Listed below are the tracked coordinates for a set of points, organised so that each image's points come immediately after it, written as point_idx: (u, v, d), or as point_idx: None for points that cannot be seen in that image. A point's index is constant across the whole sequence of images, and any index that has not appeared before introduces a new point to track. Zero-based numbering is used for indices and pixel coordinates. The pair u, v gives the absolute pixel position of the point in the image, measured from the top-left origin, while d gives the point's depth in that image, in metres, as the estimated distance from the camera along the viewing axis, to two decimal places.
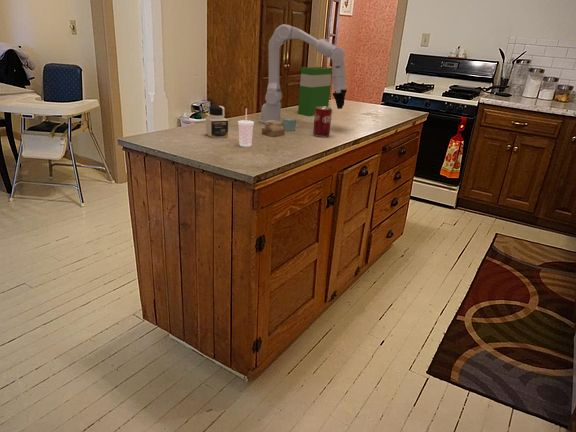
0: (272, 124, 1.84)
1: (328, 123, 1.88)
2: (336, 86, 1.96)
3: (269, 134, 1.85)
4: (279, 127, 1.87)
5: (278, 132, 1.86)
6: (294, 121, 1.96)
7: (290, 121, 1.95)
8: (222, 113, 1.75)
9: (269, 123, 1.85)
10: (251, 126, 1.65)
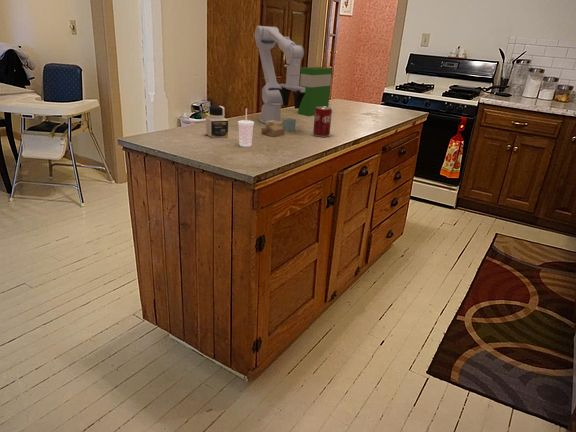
0: (273, 124, 1.84)
1: (328, 123, 1.88)
2: None
3: (269, 134, 1.85)
4: (280, 127, 1.86)
5: (278, 132, 1.86)
6: (294, 121, 1.96)
7: (290, 121, 1.95)
8: (222, 113, 1.75)
9: (270, 123, 1.85)
10: (251, 126, 1.65)
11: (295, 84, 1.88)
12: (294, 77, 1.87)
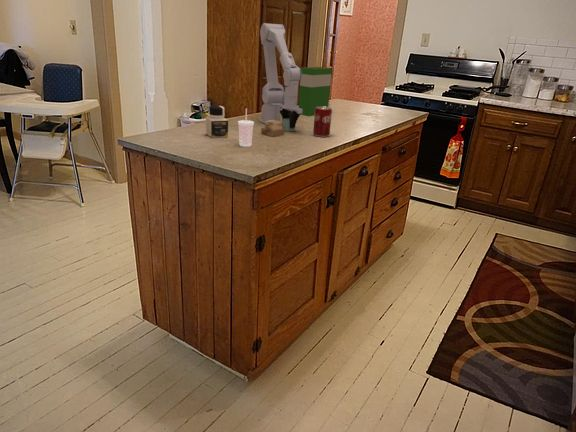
0: (272, 124, 1.84)
1: (328, 123, 1.88)
2: None
3: (268, 134, 1.85)
4: (279, 127, 1.87)
5: (278, 132, 1.86)
6: None
7: None
8: (222, 113, 1.75)
9: (269, 123, 1.85)
10: (251, 126, 1.65)
11: (293, 105, 1.92)
12: (292, 99, 1.90)
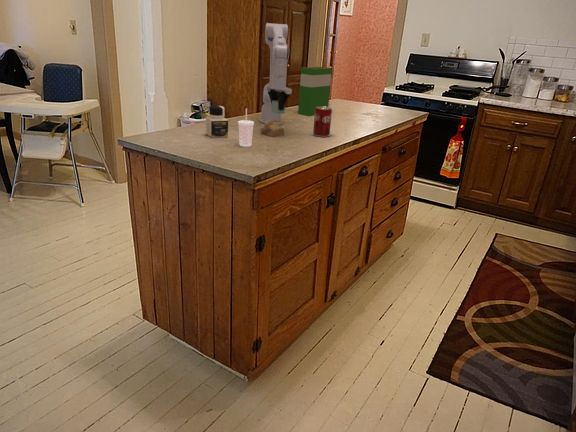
0: (272, 124, 1.84)
1: (328, 123, 1.88)
2: None
3: (268, 134, 1.85)
4: (279, 127, 1.87)
5: (278, 132, 1.86)
6: None
7: None
8: (222, 113, 1.75)
9: (269, 123, 1.85)
10: (251, 126, 1.65)
11: (281, 85, 1.80)
12: (280, 78, 1.79)
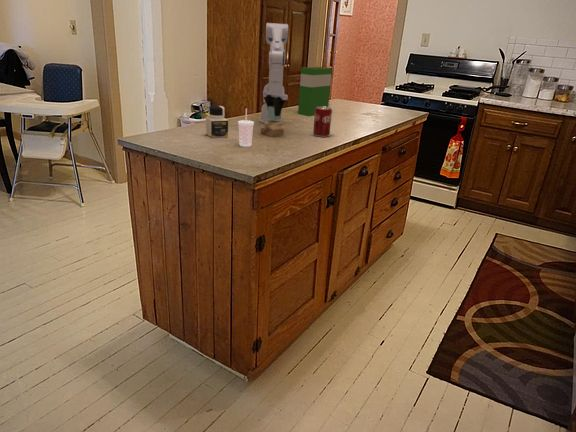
0: (272, 124, 1.84)
1: (328, 123, 1.88)
2: None
3: (268, 134, 1.85)
4: (279, 127, 1.87)
5: (277, 132, 1.86)
6: None
7: None
8: (222, 113, 1.75)
9: (269, 123, 1.85)
10: (251, 126, 1.65)
11: (277, 91, 1.79)
12: (276, 84, 1.78)
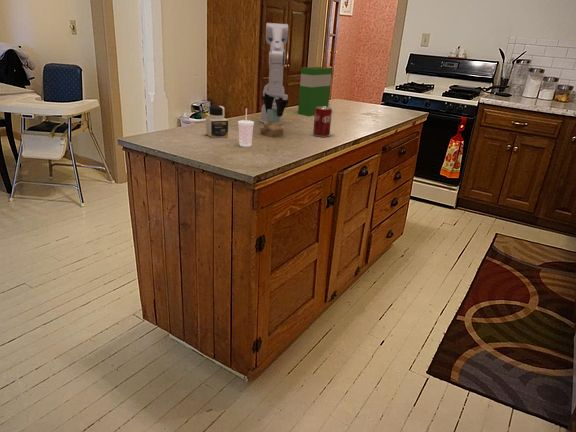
0: (271, 124, 1.84)
1: (328, 123, 1.88)
2: None
3: (267, 134, 1.85)
4: (278, 127, 1.87)
5: (277, 132, 1.86)
6: None
7: (274, 111, 1.83)
8: (222, 113, 1.75)
9: (268, 123, 1.85)
10: (251, 126, 1.65)
11: (277, 91, 1.79)
12: (276, 84, 1.78)
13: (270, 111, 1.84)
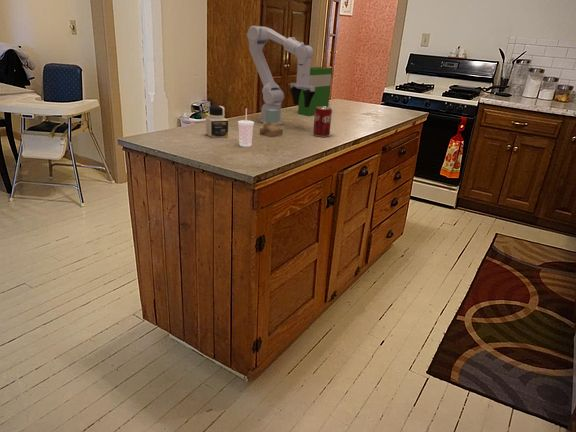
0: (270, 124, 1.84)
1: (328, 123, 1.88)
2: None
3: (267, 134, 1.85)
4: (277, 127, 1.86)
5: (276, 133, 1.85)
6: (277, 112, 1.84)
7: (273, 112, 1.82)
8: (222, 113, 1.75)
9: (267, 123, 1.85)
10: (251, 126, 1.65)
11: (305, 83, 1.93)
12: (304, 76, 1.92)
13: (268, 111, 1.83)
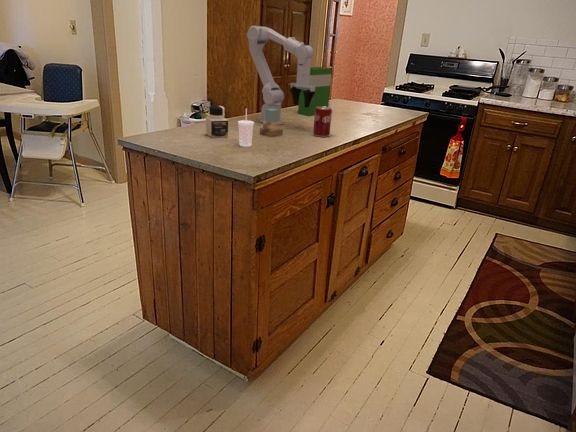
0: (270, 124, 1.84)
1: (328, 123, 1.88)
2: None
3: (267, 134, 1.85)
4: (277, 127, 1.87)
5: (276, 133, 1.85)
6: (277, 111, 1.84)
7: (272, 111, 1.82)
8: (222, 113, 1.75)
9: (267, 123, 1.85)
10: (251, 126, 1.65)
11: (305, 83, 1.93)
12: (304, 76, 1.92)
13: (268, 111, 1.83)
